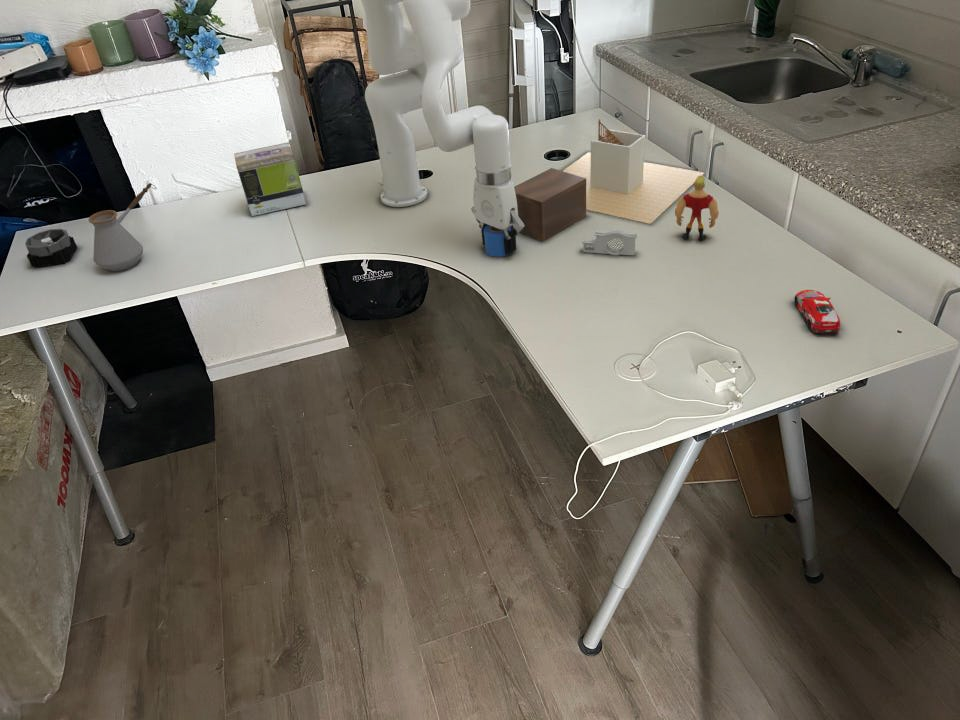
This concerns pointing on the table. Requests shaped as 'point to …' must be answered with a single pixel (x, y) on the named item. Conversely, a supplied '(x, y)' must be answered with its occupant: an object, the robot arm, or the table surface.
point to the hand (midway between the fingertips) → (499, 246)
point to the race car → (817, 311)
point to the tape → (494, 241)
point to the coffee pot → (115, 239)
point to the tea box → (270, 178)
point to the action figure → (697, 208)
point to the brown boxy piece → (550, 203)
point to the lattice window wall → (605, 237)
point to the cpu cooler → (50, 247)
